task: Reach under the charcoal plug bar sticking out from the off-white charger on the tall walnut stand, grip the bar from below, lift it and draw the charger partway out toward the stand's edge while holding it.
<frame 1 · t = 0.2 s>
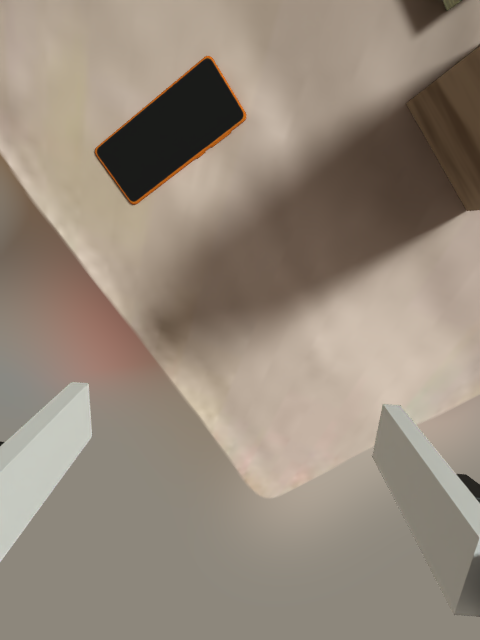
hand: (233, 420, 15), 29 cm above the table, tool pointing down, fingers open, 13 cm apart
stand: (478, 129, 38), on the table
smartphone: (170, 136, 39), on the table
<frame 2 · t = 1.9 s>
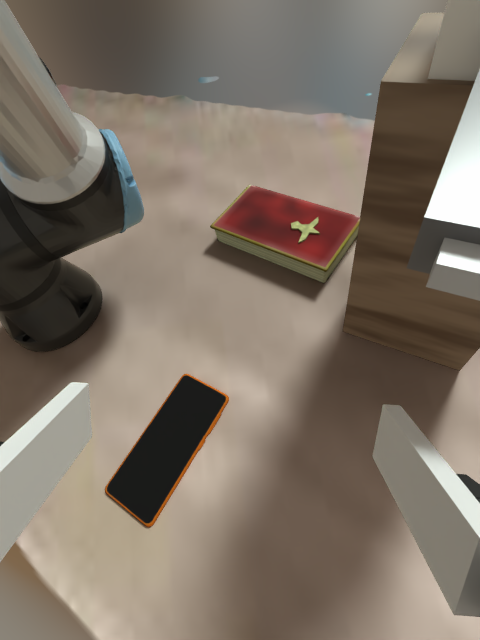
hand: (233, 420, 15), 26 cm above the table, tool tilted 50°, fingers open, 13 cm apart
hardcover book: (285, 240, 57), on the table
stand: (408, 318, 45), on the table
smartphone: (171, 443, 42), on the table
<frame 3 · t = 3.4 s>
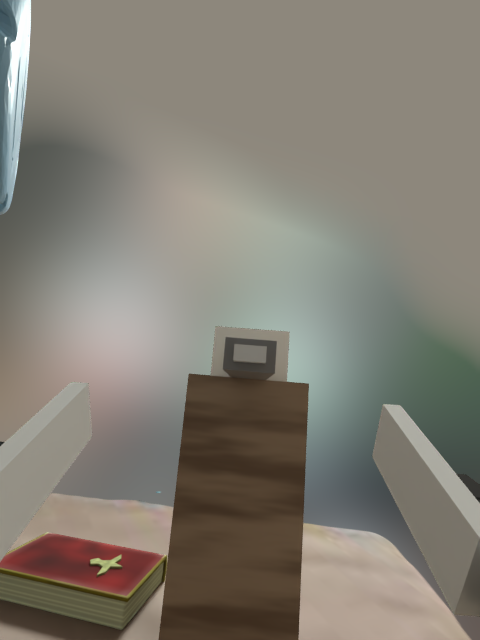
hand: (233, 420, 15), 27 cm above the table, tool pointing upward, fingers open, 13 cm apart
hardcover book: (76, 592, 47), on the table
charger: (248, 378, 40), point 30 cm above the table, touching stand
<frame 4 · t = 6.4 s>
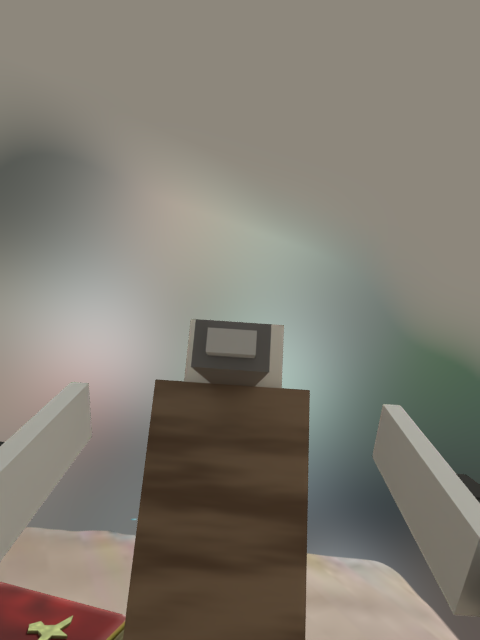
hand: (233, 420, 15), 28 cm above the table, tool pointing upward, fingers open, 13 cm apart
charger: (232, 384, 31), point 30 cm above the table, touching stand
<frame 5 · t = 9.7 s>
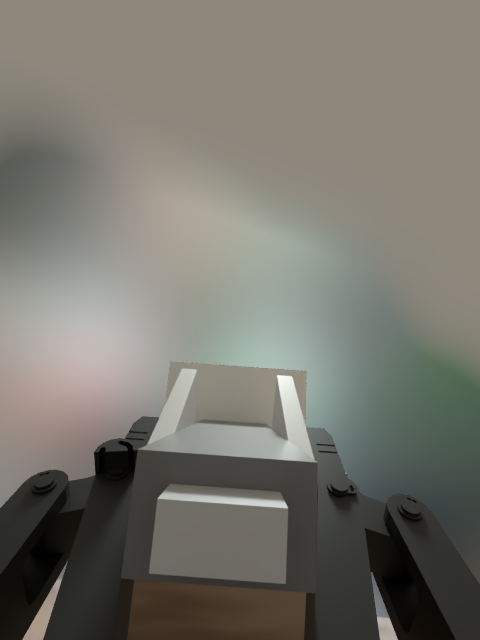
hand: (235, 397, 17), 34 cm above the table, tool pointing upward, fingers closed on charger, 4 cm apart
charger: (231, 465, 21), point 30 cm above the table, touching gripper, stand
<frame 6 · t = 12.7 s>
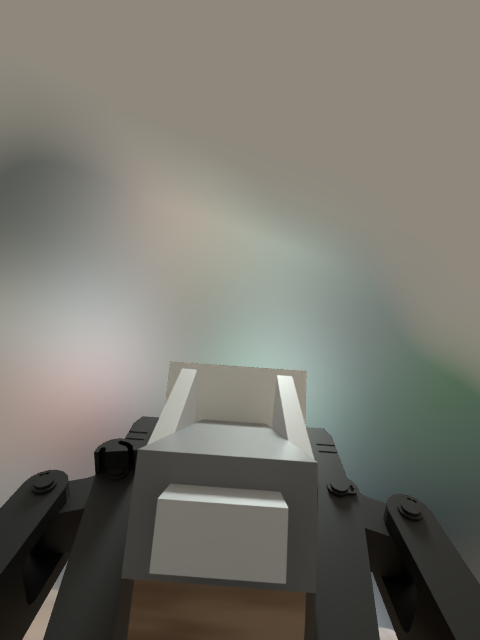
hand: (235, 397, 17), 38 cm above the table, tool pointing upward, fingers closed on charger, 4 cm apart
charger: (231, 465, 21), point 34 cm above the table, touching gripper
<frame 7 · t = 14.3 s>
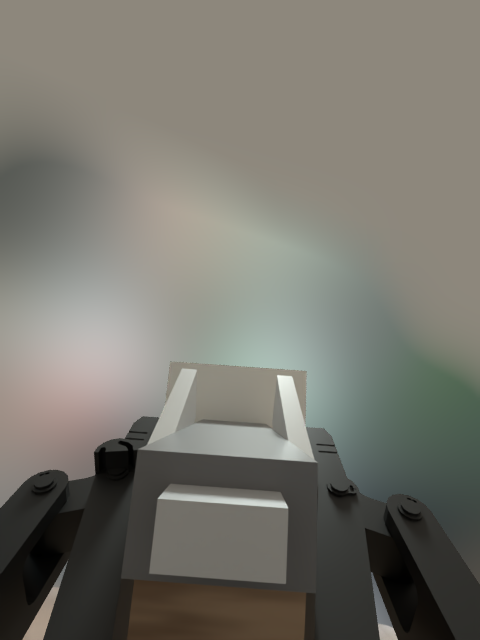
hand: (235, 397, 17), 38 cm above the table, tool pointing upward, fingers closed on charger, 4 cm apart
charger: (231, 465, 21), point 34 cm above the table, touching gripper
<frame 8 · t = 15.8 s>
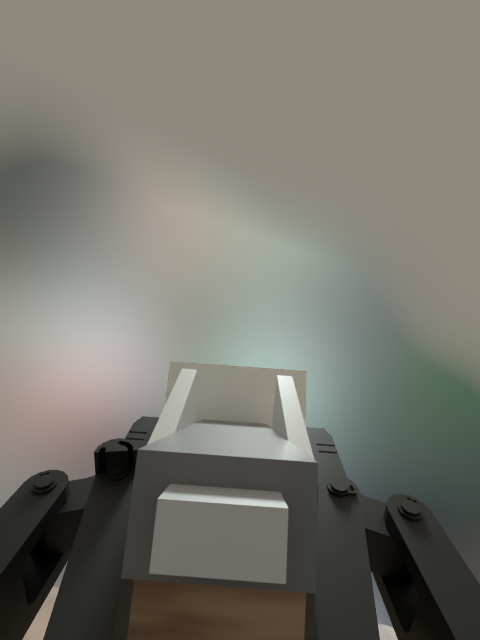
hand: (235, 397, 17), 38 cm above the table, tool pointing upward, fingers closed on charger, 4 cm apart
charger: (231, 465, 21), point 34 cm above the table, touching gripper
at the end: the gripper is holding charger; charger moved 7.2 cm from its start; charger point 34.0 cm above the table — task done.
